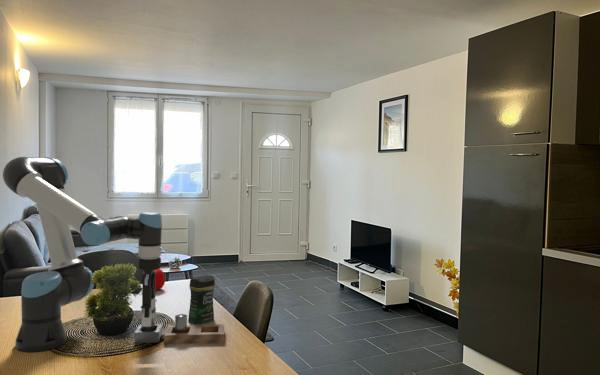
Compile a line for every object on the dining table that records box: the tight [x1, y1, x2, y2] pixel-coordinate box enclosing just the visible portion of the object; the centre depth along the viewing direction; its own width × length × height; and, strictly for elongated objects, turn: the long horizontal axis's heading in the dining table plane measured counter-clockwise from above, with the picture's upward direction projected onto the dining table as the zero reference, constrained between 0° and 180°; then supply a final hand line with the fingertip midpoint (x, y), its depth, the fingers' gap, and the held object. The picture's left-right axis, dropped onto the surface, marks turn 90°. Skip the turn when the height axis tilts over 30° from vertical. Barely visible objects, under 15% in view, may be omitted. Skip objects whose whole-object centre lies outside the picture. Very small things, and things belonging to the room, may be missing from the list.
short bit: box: [174, 313, 188, 333], centre depth 165 cm, size 4×4×8 cm
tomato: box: [141, 268, 166, 291], centre depth 231 cm, size 10×11×11 cm
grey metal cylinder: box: [141, 298, 157, 331], centre depth 165 cm, size 5×5×13 cm
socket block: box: [133, 323, 163, 344], centre depth 165 cm, size 8×8×4 cm
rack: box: [163, 323, 225, 345], centre depth 166 cm, size 20×10×4 cm, turn 98°
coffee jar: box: [187, 274, 216, 325], centre depth 185 cm, size 10×8×19 cm
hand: (148, 323), depth 165 cm, fingers closed on grey metal cylinder, 5 cm apart
